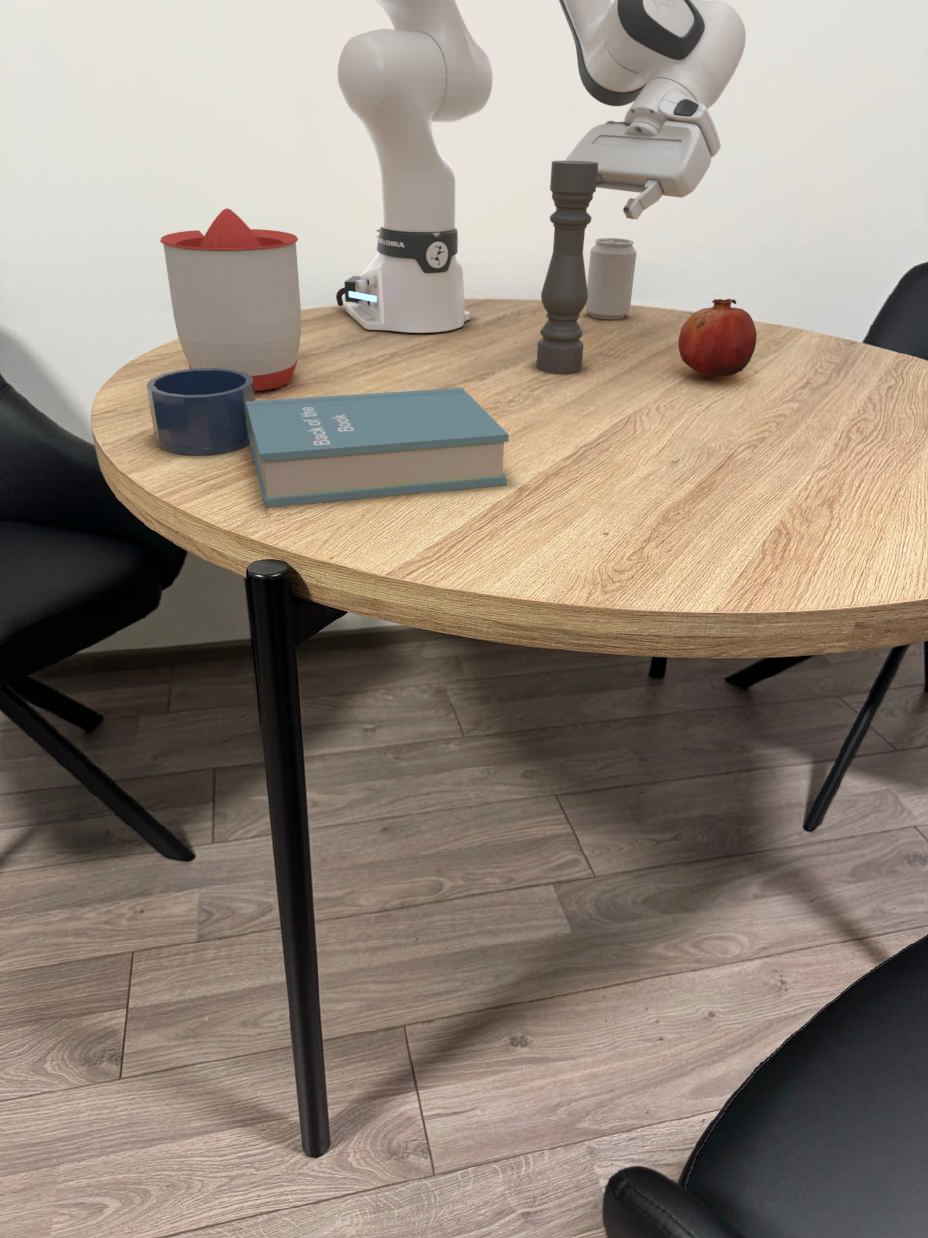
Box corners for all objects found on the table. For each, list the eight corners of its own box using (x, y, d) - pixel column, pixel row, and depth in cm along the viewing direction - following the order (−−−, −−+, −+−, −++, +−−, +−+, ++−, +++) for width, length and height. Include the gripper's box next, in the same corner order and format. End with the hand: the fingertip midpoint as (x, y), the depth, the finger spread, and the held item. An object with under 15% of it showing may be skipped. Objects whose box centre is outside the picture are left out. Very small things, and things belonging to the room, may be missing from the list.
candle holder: (528, 363, 121) (541, 160, 108) (569, 359, 123) (585, 160, 110) (548, 375, 116) (563, 164, 103) (589, 371, 118) (609, 163, 105)
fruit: (718, 392, 111) (732, 310, 106) (657, 374, 118) (668, 296, 113) (767, 378, 117) (782, 300, 112) (706, 362, 124) (718, 288, 119)
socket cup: (145, 430, 94) (136, 375, 91) (239, 416, 99) (233, 363, 96) (171, 461, 87) (162, 402, 84) (272, 445, 91) (266, 388, 88)
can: (628, 321, 145) (637, 243, 139) (582, 318, 146) (589, 241, 140) (629, 312, 151) (638, 237, 145) (586, 309, 153) (593, 235, 146)
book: (265, 507, 78) (259, 453, 75) (250, 446, 91) (244, 398, 88) (506, 484, 84) (508, 434, 81) (458, 430, 97) (459, 385, 94)
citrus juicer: (293, 358, 121) (280, 198, 110) (319, 394, 107) (308, 215, 96) (175, 366, 116) (150, 200, 106) (187, 405, 102) (159, 217, 92)
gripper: (590, 102, 118) (534, 185, 118) (716, 106, 105) (653, 200, 104) (609, 139, 123) (554, 220, 122) (732, 148, 110) (671, 238, 109)
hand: (601, 211), depth 113 cm, fingers open, 8 cm apart
